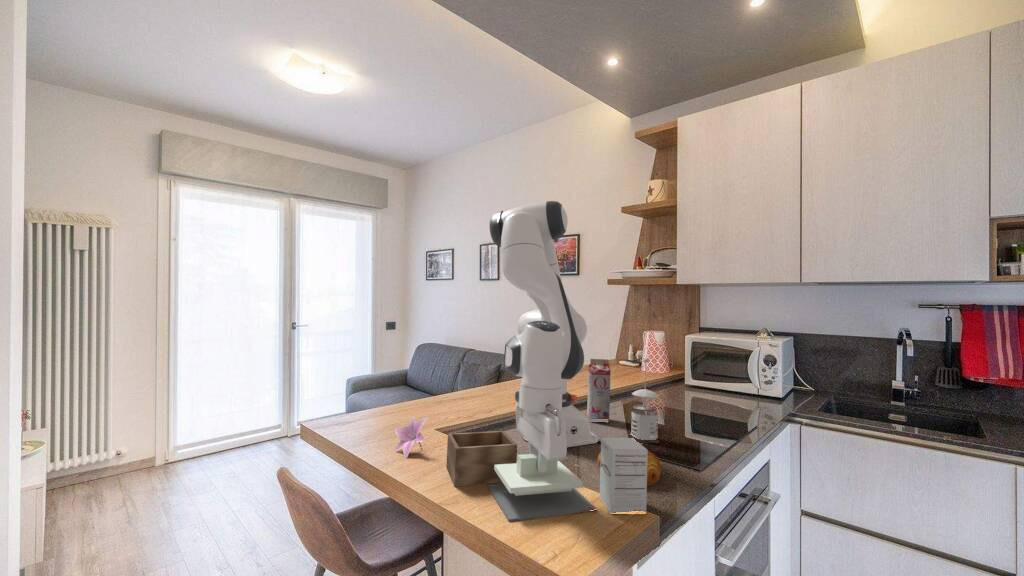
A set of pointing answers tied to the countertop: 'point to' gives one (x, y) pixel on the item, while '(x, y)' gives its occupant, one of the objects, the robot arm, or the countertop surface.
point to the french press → (643, 423)
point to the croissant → (652, 468)
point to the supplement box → (623, 474)
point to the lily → (410, 435)
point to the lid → (536, 476)
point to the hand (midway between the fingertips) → (537, 467)
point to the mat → (539, 503)
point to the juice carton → (598, 389)
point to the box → (478, 456)
